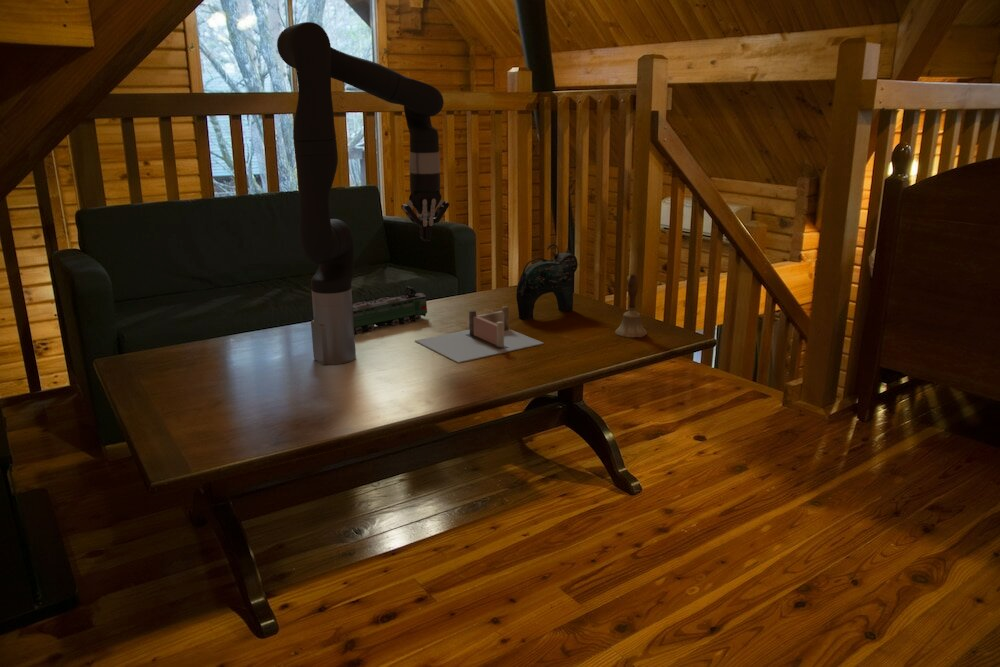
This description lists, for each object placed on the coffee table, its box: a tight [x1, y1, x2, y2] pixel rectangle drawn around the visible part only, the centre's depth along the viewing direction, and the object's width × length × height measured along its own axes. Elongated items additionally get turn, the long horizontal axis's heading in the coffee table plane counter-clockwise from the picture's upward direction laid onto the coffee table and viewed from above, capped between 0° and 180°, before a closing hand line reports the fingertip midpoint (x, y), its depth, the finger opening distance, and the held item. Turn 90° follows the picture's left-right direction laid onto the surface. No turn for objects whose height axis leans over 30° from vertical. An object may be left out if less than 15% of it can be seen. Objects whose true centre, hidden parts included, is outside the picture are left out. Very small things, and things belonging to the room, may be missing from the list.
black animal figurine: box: [515, 243, 578, 321], centre depth 223 cm, size 20×6×20 cm, turn 124°
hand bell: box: [614, 273, 648, 339], centre depth 205 cm, size 8×8×16 cm
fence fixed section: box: [468, 305, 510, 336], centre depth 207 cm, size 12×2×6 cm, turn 125°
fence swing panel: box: [473, 315, 504, 347], centre depth 198 cm, size 12×2×6 cm, turn 34°
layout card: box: [414, 328, 544, 364], centre depth 200 cm, size 26×21×1 cm
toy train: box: [352, 285, 428, 335], centre depth 213 cm, size 5×31×10 cm, turn 129°
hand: (426, 240), depth 198 cm, fingers closed
